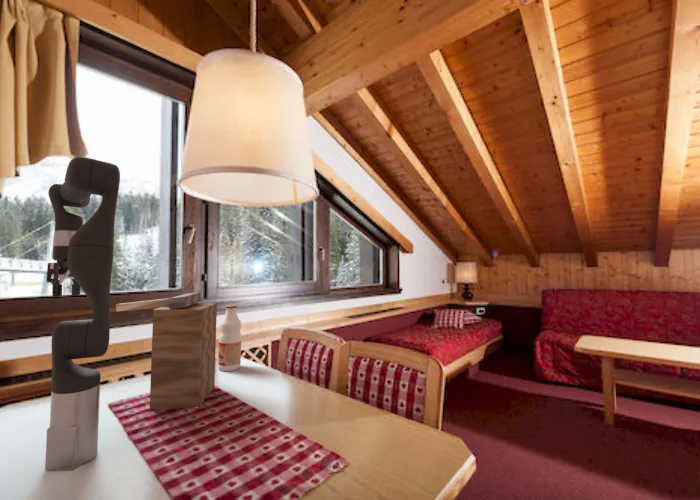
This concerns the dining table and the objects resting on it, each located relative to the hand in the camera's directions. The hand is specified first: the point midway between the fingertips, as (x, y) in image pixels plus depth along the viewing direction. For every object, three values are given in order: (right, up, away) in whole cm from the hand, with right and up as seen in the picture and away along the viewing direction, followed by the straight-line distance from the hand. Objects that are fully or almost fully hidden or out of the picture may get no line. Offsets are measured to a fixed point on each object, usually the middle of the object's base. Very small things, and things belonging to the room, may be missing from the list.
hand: (66, 296), depth 108 cm
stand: (+33, -37, +10) cm, 51 cm away
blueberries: (+88, -38, -29) cm, 100 cm away
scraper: (+23, -6, +10) cm, 26 cm away
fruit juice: (+37, -38, +43) cm, 68 cm away
